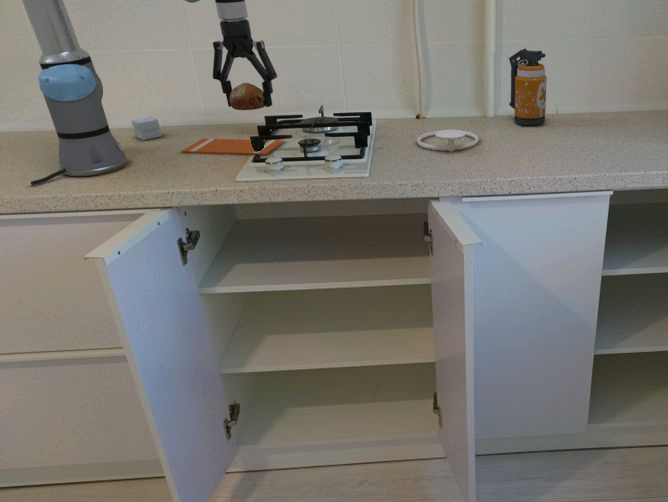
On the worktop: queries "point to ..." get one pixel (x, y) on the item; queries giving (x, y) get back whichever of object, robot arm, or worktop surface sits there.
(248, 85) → the bread roll
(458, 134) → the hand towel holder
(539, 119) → the canister
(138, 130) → the small box
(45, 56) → the robot arm
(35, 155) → the worktop surface
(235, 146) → the tea towel
